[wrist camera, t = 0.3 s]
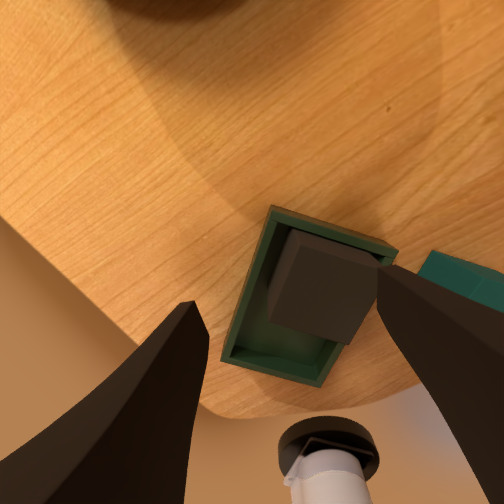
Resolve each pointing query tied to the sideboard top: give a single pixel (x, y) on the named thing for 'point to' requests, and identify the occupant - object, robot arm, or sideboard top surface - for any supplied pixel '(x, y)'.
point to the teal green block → (465, 279)
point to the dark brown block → (321, 286)
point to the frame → (256, 309)
